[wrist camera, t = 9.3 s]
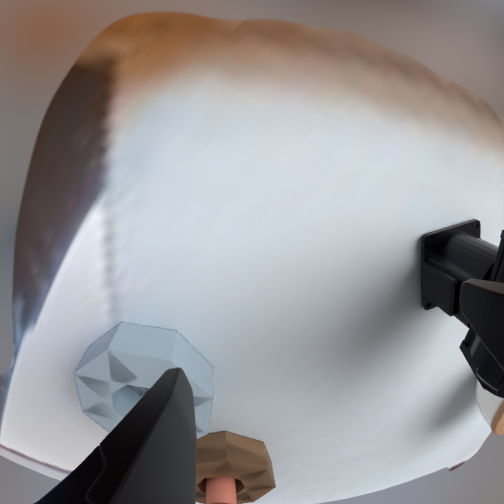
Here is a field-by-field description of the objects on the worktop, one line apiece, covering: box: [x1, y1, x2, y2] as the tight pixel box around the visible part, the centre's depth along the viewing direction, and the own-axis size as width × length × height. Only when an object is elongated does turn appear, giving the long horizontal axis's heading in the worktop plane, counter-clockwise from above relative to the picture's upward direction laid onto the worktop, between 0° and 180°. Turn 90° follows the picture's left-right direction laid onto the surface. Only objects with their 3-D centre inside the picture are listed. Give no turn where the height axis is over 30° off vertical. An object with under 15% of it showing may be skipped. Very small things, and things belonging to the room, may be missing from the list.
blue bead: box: [74, 322, 213, 439], centre depth 21 cm, size 10×10×4 cm
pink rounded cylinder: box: [206, 476, 237, 504], centre depth 23 cm, size 3×3×7 cm
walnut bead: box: [195, 431, 276, 504], centre depth 25 cm, size 10×10×4 cm
